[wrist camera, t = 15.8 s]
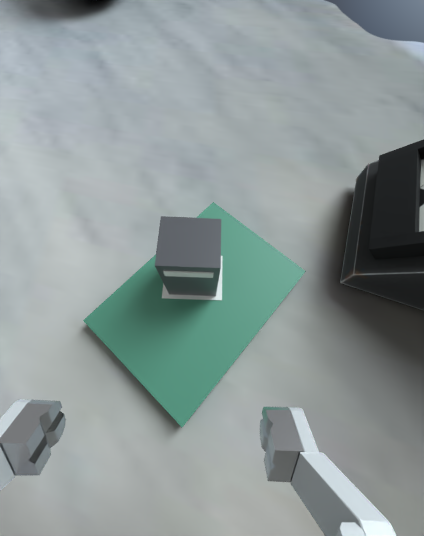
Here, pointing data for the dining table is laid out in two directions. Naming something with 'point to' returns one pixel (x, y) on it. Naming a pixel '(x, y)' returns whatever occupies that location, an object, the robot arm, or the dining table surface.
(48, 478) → the dining table surface
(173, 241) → the block
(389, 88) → the dining table surface
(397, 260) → the voltmeter
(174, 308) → the header board
